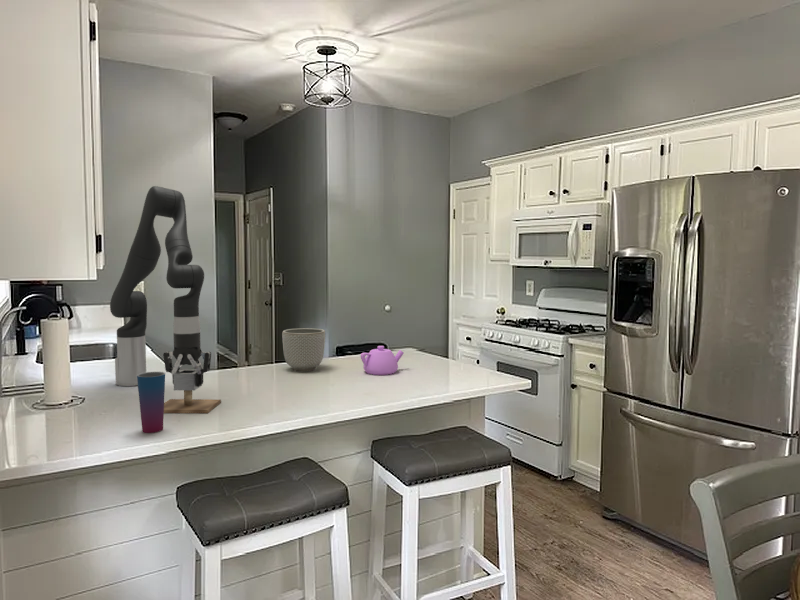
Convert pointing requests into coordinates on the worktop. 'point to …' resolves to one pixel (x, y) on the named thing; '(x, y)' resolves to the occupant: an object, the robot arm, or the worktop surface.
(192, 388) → the collar
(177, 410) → the post board
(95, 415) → the worktop surface
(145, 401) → the cup
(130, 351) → the robot arm
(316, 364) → the planter
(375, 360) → the teapot
